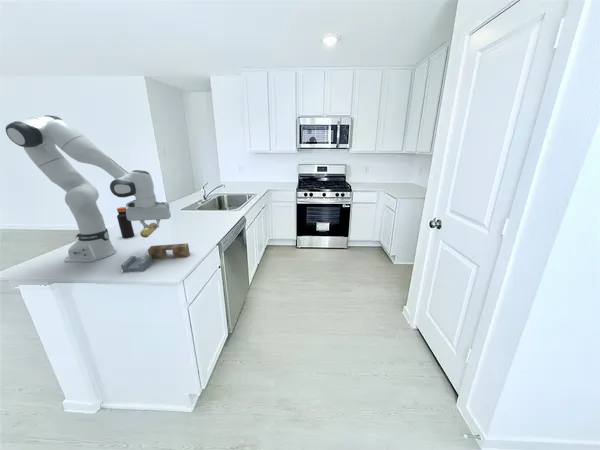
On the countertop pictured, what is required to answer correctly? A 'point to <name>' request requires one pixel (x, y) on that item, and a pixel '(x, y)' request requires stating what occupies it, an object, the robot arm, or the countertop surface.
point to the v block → (136, 264)
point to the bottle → (124, 223)
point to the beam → (177, 249)
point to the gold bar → (148, 230)
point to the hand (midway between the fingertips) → (151, 227)
